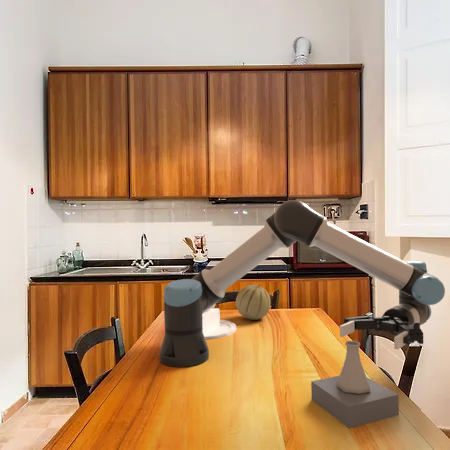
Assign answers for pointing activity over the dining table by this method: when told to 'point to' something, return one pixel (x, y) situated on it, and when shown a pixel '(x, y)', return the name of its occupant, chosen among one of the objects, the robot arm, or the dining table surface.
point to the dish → (216, 324)
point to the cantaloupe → (253, 302)
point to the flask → (353, 371)
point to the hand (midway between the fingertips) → (367, 337)
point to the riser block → (355, 402)
